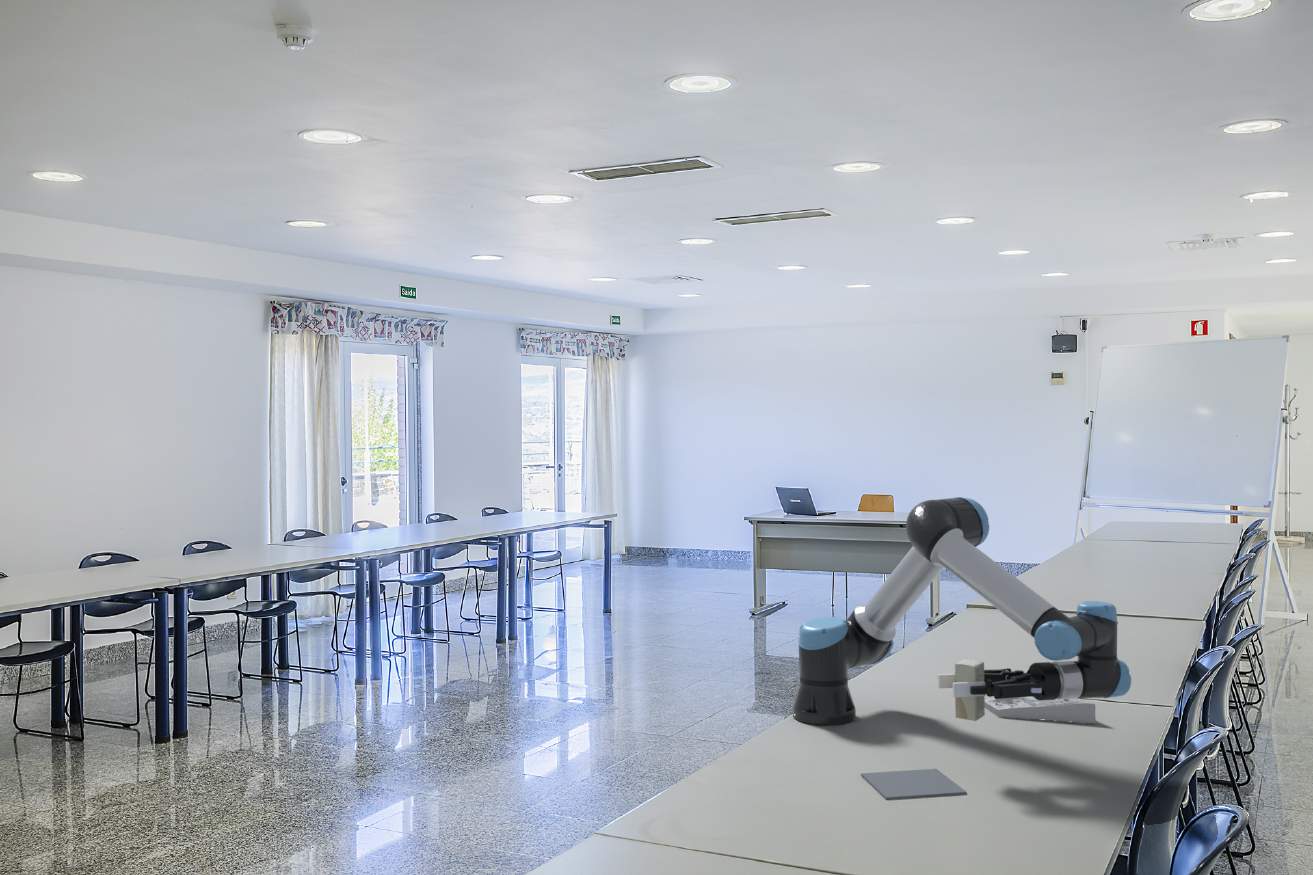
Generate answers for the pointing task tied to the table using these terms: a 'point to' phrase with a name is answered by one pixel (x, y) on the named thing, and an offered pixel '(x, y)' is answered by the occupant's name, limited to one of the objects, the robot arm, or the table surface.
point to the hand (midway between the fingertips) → (946, 685)
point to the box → (972, 705)
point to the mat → (912, 784)
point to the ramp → (1042, 709)
